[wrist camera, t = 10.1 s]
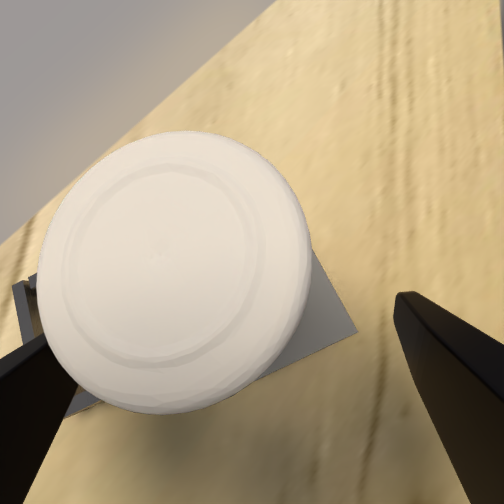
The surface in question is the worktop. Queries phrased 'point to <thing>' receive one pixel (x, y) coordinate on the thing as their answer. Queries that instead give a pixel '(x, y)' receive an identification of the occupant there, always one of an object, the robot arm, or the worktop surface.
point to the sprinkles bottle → (174, 273)
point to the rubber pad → (316, 322)
